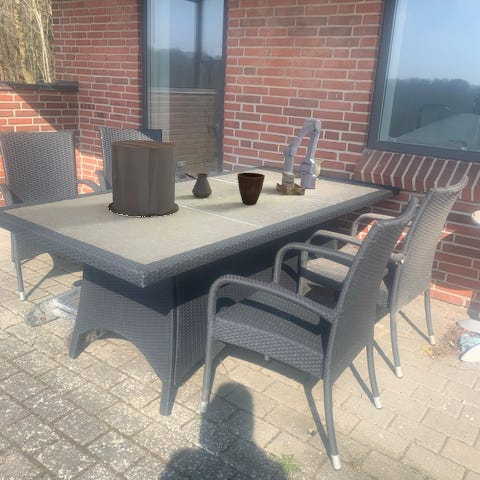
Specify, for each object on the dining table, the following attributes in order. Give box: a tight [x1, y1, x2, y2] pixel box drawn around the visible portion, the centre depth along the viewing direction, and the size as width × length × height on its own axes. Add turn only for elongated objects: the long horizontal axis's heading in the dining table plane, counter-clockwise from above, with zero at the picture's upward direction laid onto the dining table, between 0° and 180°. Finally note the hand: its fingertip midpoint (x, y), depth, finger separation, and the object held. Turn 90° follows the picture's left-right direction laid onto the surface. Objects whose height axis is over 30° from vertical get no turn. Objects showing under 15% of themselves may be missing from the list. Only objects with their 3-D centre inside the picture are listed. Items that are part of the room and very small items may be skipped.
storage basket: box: [107, 139, 180, 218], centre depth 249 cm, size 35×35×32 cm
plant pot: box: [236, 172, 266, 206], centre depth 274 cm, size 15×15×16 cm
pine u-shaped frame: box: [275, 182, 306, 196], centre depth 313 cm, size 13×17×4 cm
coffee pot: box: [182, 172, 213, 199], centre depth 281 cm, size 21×12×15 cm, turn 144°
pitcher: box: [307, 158, 325, 179], centre depth 365 cm, size 11×18×14 cm, turn 64°
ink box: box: [280, 171, 296, 188], centre depth 312 cm, size 8×5×12 cm, turn 18°
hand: (286, 187), depth 318 cm, fingers closed, pressing on ink box
